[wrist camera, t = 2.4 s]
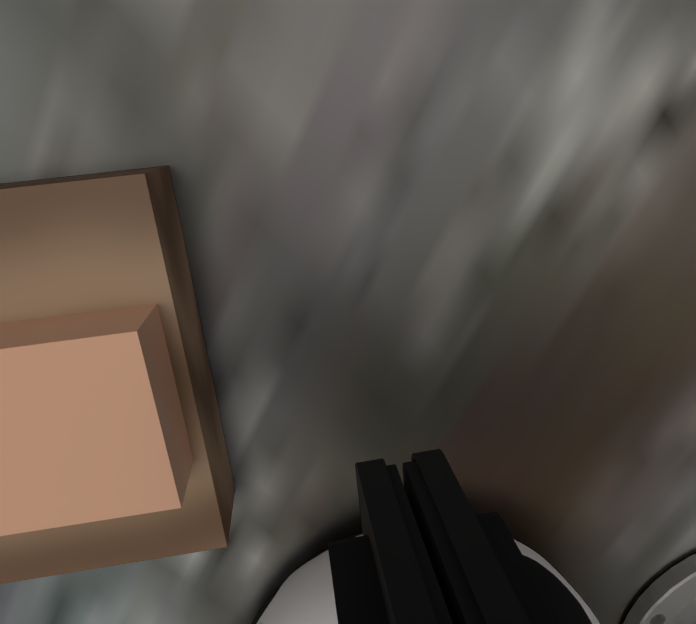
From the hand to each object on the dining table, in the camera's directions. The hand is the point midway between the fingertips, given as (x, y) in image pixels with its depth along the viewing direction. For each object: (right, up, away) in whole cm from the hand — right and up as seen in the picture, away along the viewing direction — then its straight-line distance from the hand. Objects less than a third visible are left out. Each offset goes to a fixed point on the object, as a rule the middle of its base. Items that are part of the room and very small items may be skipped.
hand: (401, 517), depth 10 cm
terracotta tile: (-10, +1, +8) cm, 12 cm away
